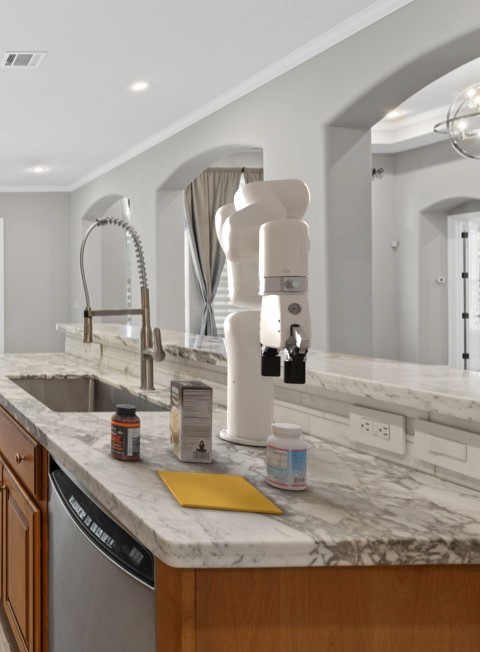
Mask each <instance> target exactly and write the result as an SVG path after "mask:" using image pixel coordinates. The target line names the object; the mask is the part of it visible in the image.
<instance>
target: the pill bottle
mask: <svg viewBox="0 0 480 652" xmlns="http://www.w3.org/2000/svg"><path fill="white" fill-rule="evenodd" d="M271 432H272V433H273V435H271V436H269V437H268V439H267V446H266V482H267V483H268V484H269V485H271V486H272V487H275V488H276V489H281V490H285V491H303V490H306V489H307V443H306V442H305V440H304V439H303V438H301V436H302V434H303V428H302V426H300V425H298V424H294V423H287V422H273V424H271Z"/></svg>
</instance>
